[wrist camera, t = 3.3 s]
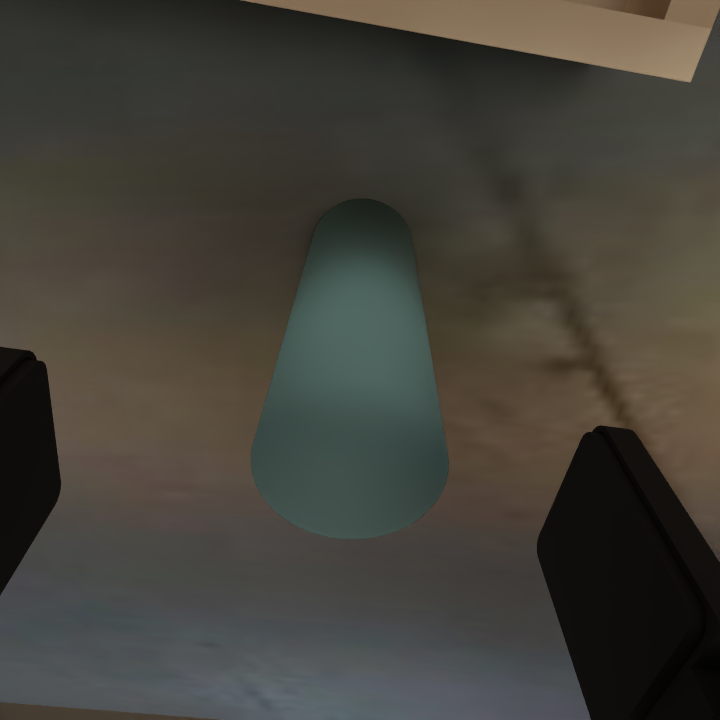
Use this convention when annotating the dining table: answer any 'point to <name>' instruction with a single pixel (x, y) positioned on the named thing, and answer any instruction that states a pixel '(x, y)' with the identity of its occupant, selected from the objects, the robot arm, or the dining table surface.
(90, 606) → the dining table surface
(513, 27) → the box
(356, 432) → the peg
